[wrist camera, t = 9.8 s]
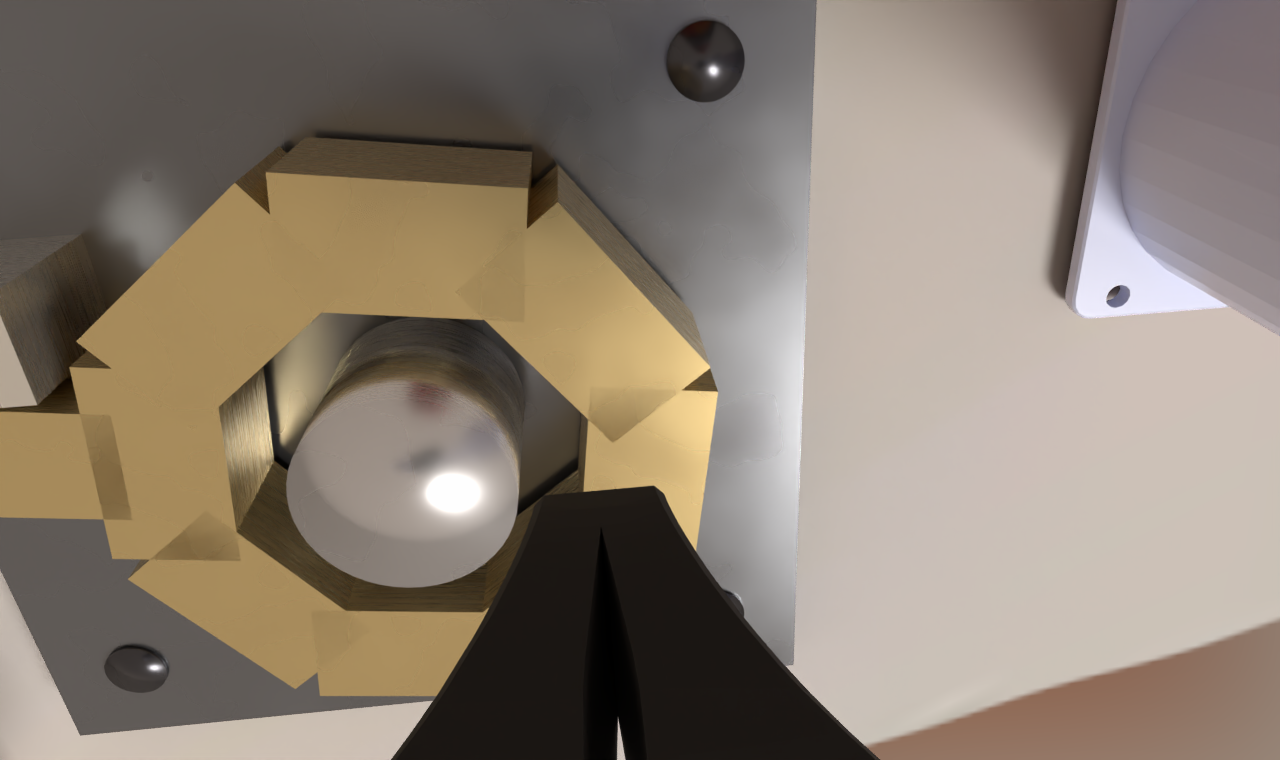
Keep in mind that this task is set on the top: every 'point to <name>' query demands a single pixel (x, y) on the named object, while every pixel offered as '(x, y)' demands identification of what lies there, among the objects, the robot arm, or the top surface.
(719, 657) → the robot arm
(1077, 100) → the top surface
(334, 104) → the flange plate
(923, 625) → the top surface
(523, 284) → the handled octagonal ring
